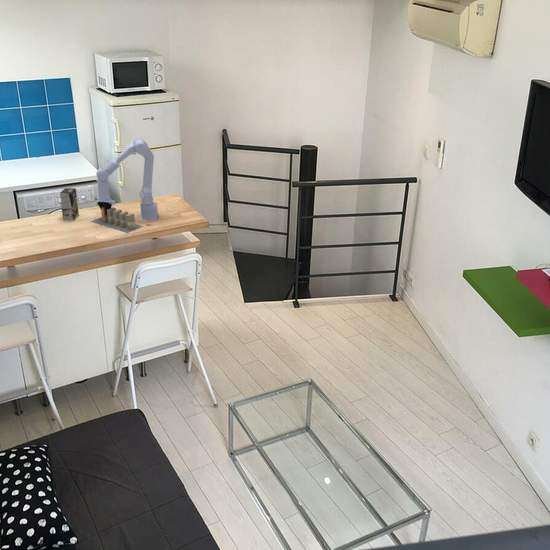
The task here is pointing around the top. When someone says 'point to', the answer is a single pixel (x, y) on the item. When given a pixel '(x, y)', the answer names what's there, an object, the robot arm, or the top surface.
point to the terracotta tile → (104, 215)
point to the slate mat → (99, 221)
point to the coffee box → (69, 204)
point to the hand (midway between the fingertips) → (106, 214)
